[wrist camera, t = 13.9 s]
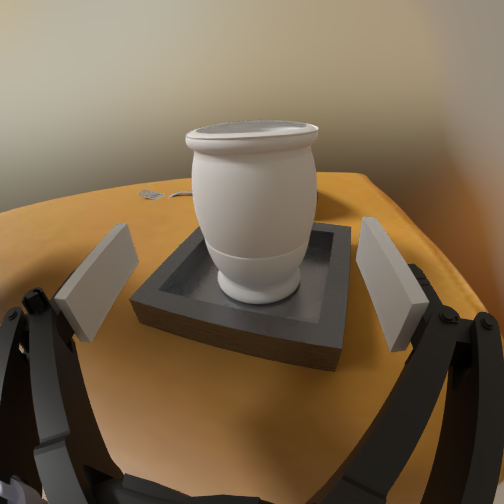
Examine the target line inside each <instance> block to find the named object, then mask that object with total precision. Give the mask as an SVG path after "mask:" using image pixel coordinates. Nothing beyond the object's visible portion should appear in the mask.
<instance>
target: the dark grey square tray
mask: <svg viewBox="0 0 504 504" xmlns="http://www.w3.org/2000/svg"><path fill="white" fill-rule="evenodd" d="M350 249H351V227H348V226H340V225H332V224H324V223H316V222H313V226H312V229H311V233H310V237H309V242H308V247H307V250H306V253H305V256H304V258H303V260H302V262H301V264H300V265H299V269H300V273H301V280H300V283H299V285H298V287H297V289H296V290H295V291H294V292H293V293H292V294H290V295H289V296H288V297H286V298H284V299H282V300H279V301H276V302H272V303H267V304H250V303H244V302H241V301H238V300H235V299H233V298H231V297H230V296H228V295H227V294H226V293H225V292H224V291H223V290H222V289H221V287H220V285H219V283H218V272H219V269H218V268H217V266H216V265H215V263H214V262H213V260H212V258H211V256H210V254H209V251H208V249H207V246H206V242H205V238H204V235H203V233H202V231H201V228H200V226H199V227H198V228H197V229H196V230H195V231H194V232H193V233H192V234H191V235H190V236H189V237H188V238H187V239H186V240H185V241H184V242H183V243H182V244H181V245H180V246H179V247H178V248H177V249H176V250H175V251H174V252H173V253H172V254H171V255H170V256H169V257H168V258H167V259H166V260H165V261H164V262H163V263H162V265H161V266H160V267H159V268H158V269H157V270H156V271H155V272H154V273H153V274H152V275H151V276H150V277H149V278H148V279H147V280H146V281H145V283H144V284H143V285H142V286H141V287H140V288H139V289H138V290H137V291H136V292H135V293H134V294H133V296H132V297H131V298H130V299H129V300H130V302H131V304H132V307H133V309H134V311H135V313H136V316H137V318H138V320H139V322H141V323H143V324H146V325H149V326H152V327H155V328H158V329H161V330H163V331H166V332H169V333H173V334H176V335H179V336H182V337H185V338H188V339H192V340H195V341H198V342H202V343H205V344H209V345H212V346H216V347H220V348H223V349H227V350H231V351H235V352H239V353H243V354H247V355H251V356H255V357H260V358H264V359H269V360H273V361H278V362H283V363H288V364H293V365H298V366H304V367H309V368H315V369H321V370H328V371H334V372H335V369H336V366H337V363H338V360H339V357H340V353H341V350H342V345H343V337H344V329H345V320H346V310H347V299H348V286H349V271H350Z"/></svg>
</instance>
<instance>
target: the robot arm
mask: <svg viewBox="0 0 504 504" xmlns="http://www.w3.org/2000/svg"><path fill="white" fill-rule="evenodd" d="M356 262H357V264H358V267H359V269H360V272H361V274H362V277H363V279H364V281H365V284H366V287H367V289H368V292H369V294H370V297H371V300H372V302H373V305H374V308H375V310H376V313H377V316H378V319H379V321H380V324H381V327H382V330H383V333H384V336H385V339H386V342H387V345H388V348H389V351H390V352H397V351H404V350H406V348H407V347H408V345H409V343H410V341H411V344H412V346H413V350H412V352H411V353H410V355H409V357H408V359H407V360H406V362H405V363H404V364H405V366H404V368H403V370H402V372H401V374H400V376H399V378H398V380H397V381H396V383H395V385H394V387H393V389H392V391H391V392H390V394H389V396H388V398H387V399H386V401H385V403H384V404H383V406H382V408H381V409H380V411H379V413H378V414H377V416H376V417H375V419H374V420H373V422H372V423H371V425H370V427H369V428H368V429H367V431H366V432H365V434H364V435H363V437H362V438H361V440H360V441H359V442H358V444H357V445H356V447H355V448H354V449H353V451H352V452H351V453H350V455H349V456H348V457H347V458H346V460H345V461H344V462H343V464H342V465H341V466H340V467H339V468H338V470H337V471H336V472H335V473H334V475H333V476H332V477H331V478H330V479H329V480H328V481H327V483H326V484H325V485H324V486H323V487H322V488H321V489H320V490H319V491H318V492H316V493H315V494H314V495H313V496H312V497H311V498H310V499H309V500H308V502H307V503H306V504H385V503H386V496H387V494H388V492H389V490H390V488H391V487H392V485H393V484H394V482H395V481H396V479H397V478H398V476H399V475H400V473H401V471H402V470H403V468H404V466H405V465H406V463H407V461H408V460H409V458H410V456H411V454H412V452H413V451H414V449H415V447H416V445H417V443H418V441H419V439H420V437H421V435H422V433H423V431H424V429H425V427H426V425H427V423H428V420H429V418H430V416H431V414H432V411H433V409H434V406H435V404H436V402H437V399H438V397H439V394H440V391H441V389H442V386H443V383H444V380H445V377H446V374H447V371H448V382H447V392H446V401H445V408H444V415H443V421H442V427H441V432H440V437H439V442H438V447H437V451H436V455H435V459H434V463H433V467H432V470H431V474H430V477H429V480H428V483H427V486H426V489H425V492H424V495H423V498H422V501H421V503H420V504H493V501H494V497H495V493H496V489H497V485H498V480H499V475H500V469H501V463H502V456H503V448H504V358H503V350H502V342H501V336H500V330H499V325H498V323H497V321H496V319H495V318H494V317H493V316H492V315H491V314H489V313H487V312H479V313H478V314H477V315H476V317H475V318H474V320H468V319H461V318H460V316H459V314H458V313H457V312H456V311H455V310H454V309H452V308H451V307H448V306H445V305H443V304H442V302H441V301H440V299H439V297H438V296H437V294H436V292H435V291H434V289H433V287H432V286H431V285H430V282H429V281H428V279H426V276H425V274H424V273H423V271H422V270H421V269H420V268H418V267H417V266H416V265H415V264H407V263H406V262H405V260H404V258H403V257H402V255H401V254H400V252H399V251H398V249H397V248H396V246H395V245H394V243H393V242H392V240H391V239H390V237H389V236H388V234H387V233H386V231H385V230H384V228H383V227H382V226H381V224H380V223H379V221H378V220H377V219H376V217H362V224H361V231H360V237H359V243H358V249H357V255H356ZM138 263H139V261H138V258H137V254H136V251H135V248H134V245H133V242H132V238H131V235H130V231H129V228H128V224H127V223H123V224H116V225H115V226H114V227H113V228H112V229H111V231H110V232H109V233H108V234H107V235H106V236H105V237H104V238H103V239H102V240H101V241H100V243H99V244H98V245H97V246H96V247H95V248H94V249H93V250H92V252H91V253H90V254H89V255H88V256H87V257H86V259H85V260H84V261H83V262H82V263H81V264H80V266H79V267H78V268H77V269H76V270H75V271H73V272H72V273H71V274H70V275H69V277H68V278H67V279H66V281H65V282H64V283H63V284H62V286H61V287H60V288H59V289H58V291H57V292H56V293H55V295H54V296H53V297H52V299H51V300H50V301H49V300H48V298H47V297H46V295H45V293H44V291H43V289H42V288H40V287H39V288H34V289H32V290H30V291H29V292H28V293H26V294H25V296H24V297H23V299H22V303H23V305H24V306H25V308H26V310H27V311H28V314H24V312H23V311H22V309H21V308H20V307H14V308H12V309H11V310H9V311H8V313H7V314H6V315H5V317H4V320H3V323H2V326H1V329H0V504H274V503H271V502H268V501H264V500H261V499H260V498H259V497H246V496H233V495H213V496H198V497H191V496H188V495H186V494H184V493H181V492H179V491H176V490H174V489H171V488H168V487H166V486H163V485H160V484H158V483H155V482H153V481H149V480H145V479H142V478H139V477H135V476H132V475H129V474H126V473H125V475H124V474H123V473H122V471H121V470H120V468H119V467H118V466H117V465H116V464H115V463H114V462H113V460H112V459H111V457H110V455H109V453H108V450H107V448H106V446H105V443H104V441H103V438H102V436H101V433H100V430H99V428H98V425H97V422H96V419H95V416H94V413H93V410H92V407H91V404H90V401H89V398H88V394H87V391H86V388H85V384H84V380H83V376H82V372H81V368H80V364H79V360H78V355H77V350H76V346H75V342H74V340H73V338H72V336H73V335H74V333H75V334H76V335H77V337H78V338H79V340H80V341H83V342H88V343H92V341H93V340H94V338H95V336H96V334H97V332H98V330H99V328H100V327H101V325H102V323H103V321H104V319H105V318H106V316H107V314H108V312H109V311H110V309H111V307H112V305H113V304H114V302H115V300H116V299H117V297H118V295H119V294H120V292H121V290H122V289H123V287H124V285H125V284H126V282H127V280H128V279H129V277H130V276H131V274H132V272H133V271H134V269H135V268H136V266H137V265H138ZM19 344H20V345H21V346H22V348H23V349H24V353H21V351H20V350H19ZM42 486H43V489H44V492H45V495H46V497H47V500H48V502H47V501H46V500H45V499H42Z"/></svg>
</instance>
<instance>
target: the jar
mask: <svg viewBox="0 0 504 504" xmlns="http://www.w3.org/2000/svg"><path fill="white" fill-rule="evenodd" d="M317 130H318V127H316V126H314V125H310V124H305V123H300V122H293V121H280V120H251V121H237V122H228V123H221V124H215V125H210V126H206V127H202V128H199V129H196V130H193V131H190V132H188V133H186V135H185V136H186V144H187V146H188V147H189V148H191V149H193V150H194V159H193V165H192V193H193V201H194V207H195V212H196V216H197V219H198V223H199V226H200V228H201V231H202V233H203V235H204V238H205V242H206V246H207V249H208V251H209V254H210V256H211V258H212V260H213V262H214V263H215V265H216V266H217V268H218V269H219V272H218V283H219V285H220V287H221V289H222V290H223V291H224V292H225V293H226V294H227V295H228V296H230V297H231V298H233V299H235V300H238V301H241V302H244V303H250V304H267V303H272V302H276V301H279V300H282V299H284V298H286V297H288V296H289V295H290V294H292V293H293V292H294V291H295V290H296V289H297V287H298V285H299V283H300V280H301V273H300V269H299V265H300V264H301V262H302V260H303V258H304V256H305V253H306V250H307V247H308V242H309V237H310V233H311V229H312V226H313V222H314V217H315V211H316V203H317V178H316V169H315V162H314V158H313V154H312V151H311V144H312V143H314V142H315V141H316V140H317V138H318V132H317Z"/></svg>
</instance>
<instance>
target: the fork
mask: <svg viewBox="0 0 504 504" xmlns="http://www.w3.org/2000/svg"><path fill="white" fill-rule="evenodd" d="M144 191H146V192H144ZM141 192H143V193H140V194H137V195H140V196H143V197H146V198H150V199H154V200H156V199H157V198H161V197H157V196H163V195H165V194H163V193H156V192H151V191H147V190H143V191H141ZM147 192H150V193H147ZM144 193H146V194H144ZM152 193H154V194H152ZM181 193H189V194H193V193H192V192H190V191H182V192H178V193H175V194H172V195H171V196H170V197H169V198H171V197H173V196H175V195H178V194H181ZM141 194H143V195H141ZM148 194H150V195H148ZM156 194H159V195H156ZM144 195H146V196H144ZM152 195H154V196H152ZM148 196H150V197H148ZM151 197H154V198H151Z"/></svg>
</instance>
